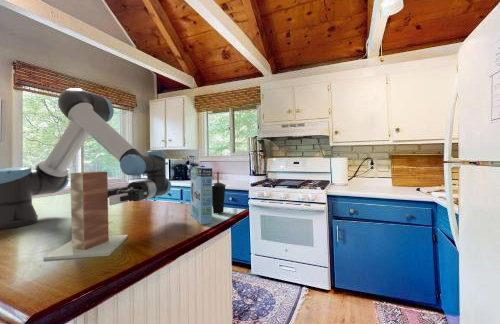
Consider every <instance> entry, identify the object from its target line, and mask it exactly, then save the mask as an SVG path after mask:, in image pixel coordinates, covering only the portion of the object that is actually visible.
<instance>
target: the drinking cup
mask: <svg viewBox="0 0 500 324" xmlns="http://www.w3.org/2000/svg"><path fill="white" fill-rule="evenodd" d="M219 174H220V173H219V171H217V172H216V175H217V176H216V179H217V180H216V181H217V182H214V183H213V182H212V214H214V213H221V212H223V213H224V210H225V209H224V208H225V207H224V206H225V195H226V186H227V185H226V183H224V182H223V183H222V182H219V178H220V176H219Z"/></svg>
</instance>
